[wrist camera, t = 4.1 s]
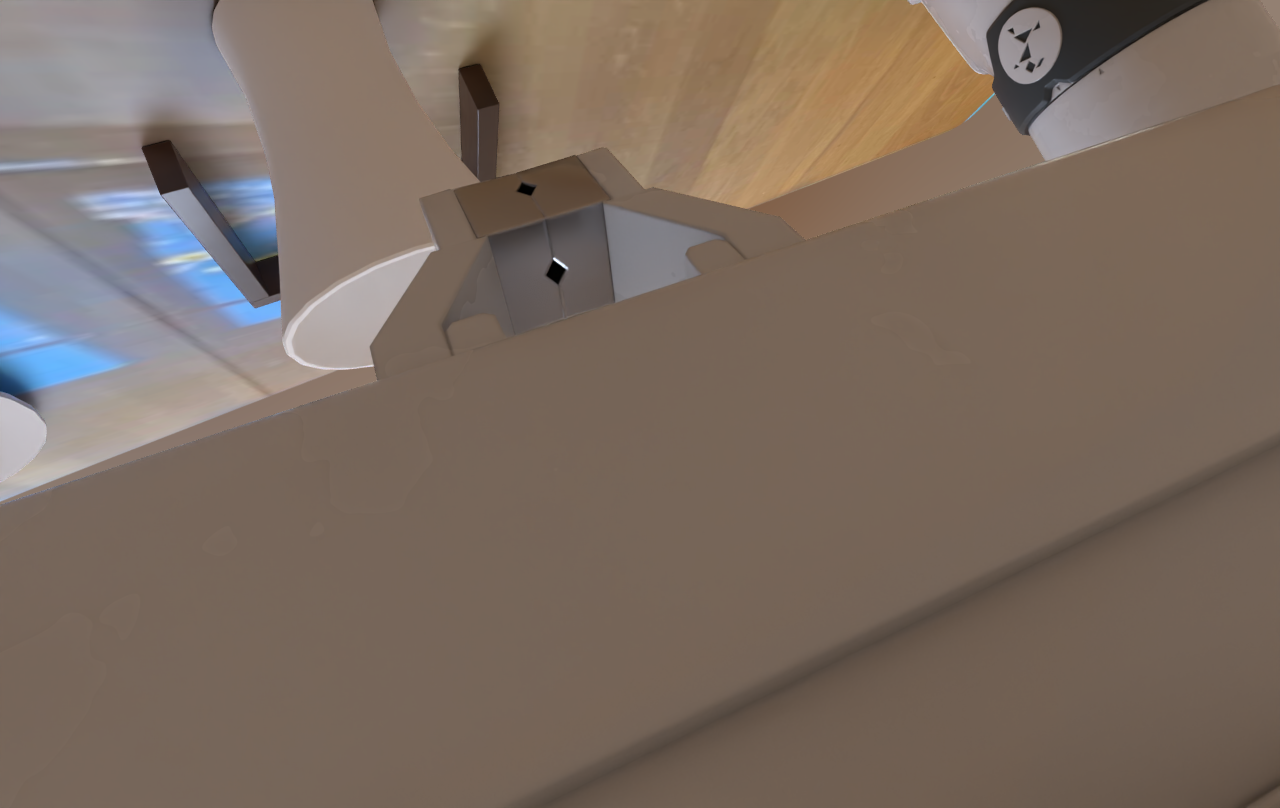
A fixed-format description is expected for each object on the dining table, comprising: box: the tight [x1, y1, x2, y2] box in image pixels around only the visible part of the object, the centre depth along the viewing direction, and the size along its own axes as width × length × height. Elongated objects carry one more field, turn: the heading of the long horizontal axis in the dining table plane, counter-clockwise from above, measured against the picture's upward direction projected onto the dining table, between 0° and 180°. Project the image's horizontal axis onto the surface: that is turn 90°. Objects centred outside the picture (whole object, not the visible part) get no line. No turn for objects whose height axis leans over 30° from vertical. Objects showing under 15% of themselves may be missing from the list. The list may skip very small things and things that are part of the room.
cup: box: [212, 0, 480, 370], centre depth 28 cm, size 10×10×14 cm
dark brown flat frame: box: [142, 64, 499, 308], centre depth 40 cm, size 16×14×2 cm
